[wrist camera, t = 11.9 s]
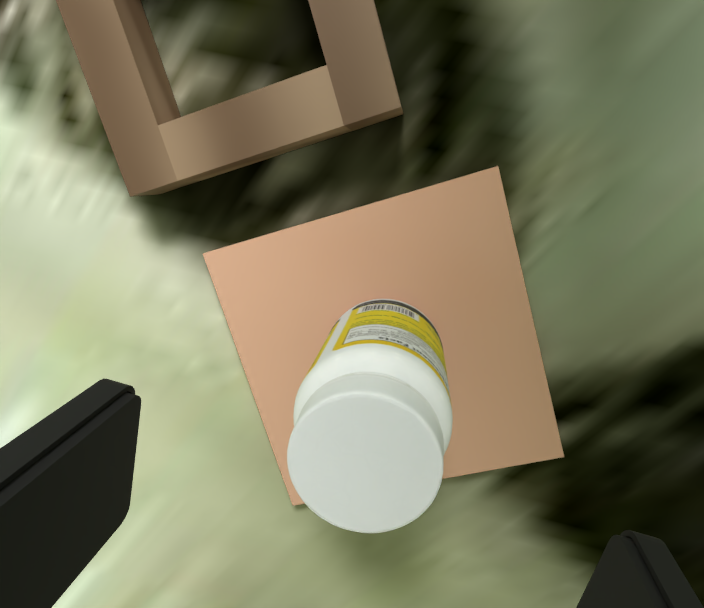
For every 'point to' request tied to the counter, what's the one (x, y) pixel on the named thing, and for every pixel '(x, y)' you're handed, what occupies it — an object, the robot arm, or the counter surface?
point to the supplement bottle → (373, 420)
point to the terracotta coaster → (409, 287)
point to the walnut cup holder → (232, 115)
